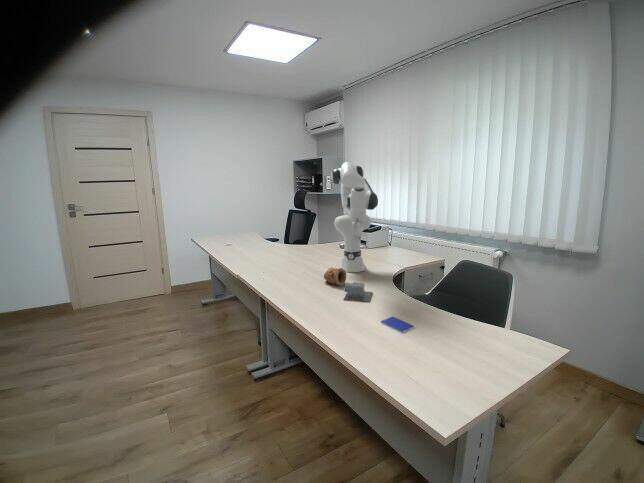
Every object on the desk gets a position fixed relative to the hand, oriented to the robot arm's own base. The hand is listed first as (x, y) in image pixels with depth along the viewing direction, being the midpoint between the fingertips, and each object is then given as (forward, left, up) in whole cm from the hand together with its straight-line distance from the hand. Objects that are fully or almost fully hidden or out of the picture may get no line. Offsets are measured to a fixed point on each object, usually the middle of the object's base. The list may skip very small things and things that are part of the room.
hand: (357, 241), depth 185 cm
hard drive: (+41, +24, -30) cm, 56 cm away
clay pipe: (-11, -16, -30) cm, 35 cm away
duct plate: (+10, +2, -29) cm, 31 cm away
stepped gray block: (+10, 0, -28) cm, 30 cm away
